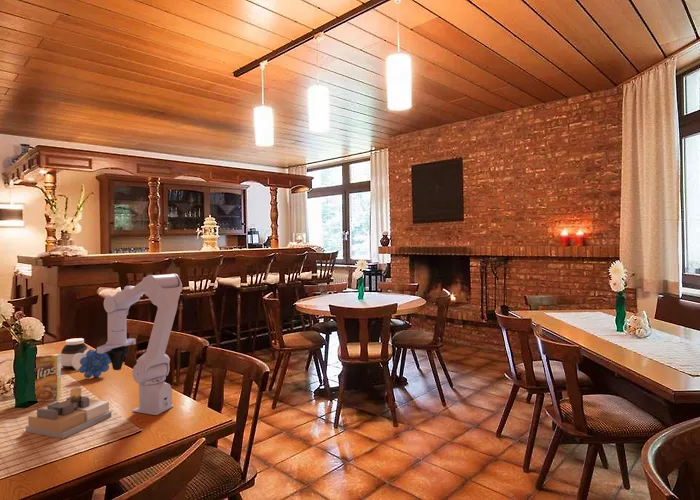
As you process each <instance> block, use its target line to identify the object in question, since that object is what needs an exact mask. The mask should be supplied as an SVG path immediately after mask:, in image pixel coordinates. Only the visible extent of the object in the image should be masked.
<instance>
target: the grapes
mask: <svg viewBox="0 0 700 500" xmlns="http://www.w3.org/2000/svg"><path fill="white" fill-rule="evenodd" d="M86 356H87V357H83V358H81V360H80V364H81V365H82V366H81V367H80V368H79V370H78V372H79V373H81V374H83V375H84V378H85V379H89V378H91V377H94V378H99V377H100V376H101V375H102V373H106V372H108V371H109V369H110V365H109V364H112V363H111V360H110V358H109V356H108V355H107V354H106V352H104V353H102V354H100V353H97V348H95V350H94V349H88V352H87V353H86Z"/></svg>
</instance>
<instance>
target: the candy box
mask: <svg viewBox="0 0 700 500" xmlns="http://www.w3.org/2000/svg"><path fill="white" fill-rule="evenodd" d="M34 371H35V372H37V379H35V394H36V399H37V401H38V402H51V401H54V402H57V401H58V400H59V399H60V398H61V396H62V365H61V352H54V353H52V352H51V353H38V354H36V368H35V369H34Z"/></svg>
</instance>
